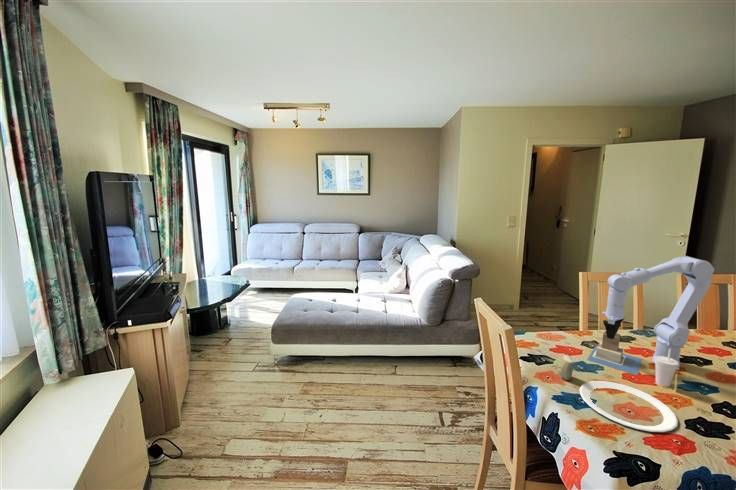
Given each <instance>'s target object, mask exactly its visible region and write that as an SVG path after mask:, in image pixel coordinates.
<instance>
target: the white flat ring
mask: <svg viewBox="0 0 736 490" xmlns="http://www.w3.org/2000/svg"><path fill="white" fill-rule="evenodd" d="M596 388H598V389H611V390H612V389H613V390H618V391H622V392H626V393H628V394H632V395H634V396H637V397H639V398H641V399H643V400H644V401H646V402H648V403H650V404H651V405H652V406H653V407H655V408H656V409H657V410H658V409H659V410H660V411H659V412H660V413H661V415H662V417H663V419H662V420H663V421H662V422H661V423H660V424H657V425H643V424H642V425H641V424H635V423H632V422H629V421H624V420H623V419H619V418H617V417H615V416H613V415H611V414H610V413H608V412H606V411H604V410H603V409H602V408H601V407H599V406H598V405H597V404H596V403H595V402H594V401H593V399H592V398H591V399H592V400H591V399H590V396H591V394H590V392H591V393H592V392H593V391H595V390H597V389H596ZM594 389H595V390H594ZM579 395H580V396H581V399H582V401H584V403H585V404H587V406H588V407H589V408H591V409H592V410H593V411H595V412H596V413H598V414H599V415H601V416H603V417H605V418H606V419H608V420H610V421H612V422H615V423H616V424H619V425H622V426H624V427H626V428H627V427H628V428H630V429H634V430H637V431H643V432H649V433H663V434H664V433H667V432H672V431H674V430H675V429H676V428H678V424H679V419H678V417H677V416H676V414H675V413H674V411H672V410H671V409H670V407H668V405H666V404H664V402H662V401H661V400H659V399H658V398H656V397H654V396H652V395H651V394H648V393H646V392H644V391H642V390H640V389H636V388H635V387H631V386H629V385H625V384H621V383H618V382H612V381H605V380H592V381H587V382H585V383H582V384H581V386H580V387H579ZM589 395H590V396H589ZM592 401H593V402H594V403H595V404H594V403H593V402H592ZM597 406H598V407H597Z"/></svg>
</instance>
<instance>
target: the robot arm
mask: <svg viewBox="0 0 736 490" xmlns="http://www.w3.org/2000/svg"><path fill="white" fill-rule="evenodd" d="M714 271H715V268H714V267H713V265H712V263H710V262H709V261H708V260H703V259H699V258H695V257H692V256H688V255H681V256H679V257H673V259H671V260H669V261H665V262H662V263H661V264H658V265H655V266H653V267H649V268H647V269H645V268H642V267H640V268H639V267H635V268H633V270H630V271H627V272H626V271H625V272H621V273H620V274H617V273H616V274H615V273H614V274H612V275H610V276H609V277H608V279H606V283H607V286H608V295H607V300H606V310H605V311H602V313H601V314H602V315H605V317H606V318H607V320H606V319H603V321H602V323H603V325H604V327H605V331H606V335H607V338H609V339H614V337H615V335H616V333H617V334H618V331H619V328H620V327H621V326H622V322H623V321H624V320H625V308H626V301H627V300H626V299H627V293H628V291H630V289H631V288H632V287H635V286H638V285H642V284H646V283H649V282H650V281H651V279H652V278H654V277H655V278H656V277H658V276H662V275H666V274H672V273H675V272H676V273H681V274H682V275H684V276H685V278H686V280H687V281H688V283H687V285H686V286H685V288H684V290H683V292H682V294H681V296H680V297H679V299H678V300H677V303H676V304H675V306H673V307H674V308H673V309H672V311H671V313H670V314H669V316H668V317H665V318H662V319H661V321H660V322H659V323H657V324H655V326H654V328H653V333H654V334H655V335H656V343H655V350H654V353H653V356H652V360H651V362H652V363H654V364H655V360H654V359H655V356H665V357H668V353H669V349H671V354H670V358H671V359H674V360H676V361H677V362H678V363H679V366H678V367H677V368H676V371H680V364H681V363H680V356H681V349H682V348H683V347H684V346H685V345H686V344H687V343H688V341H689V334H690V330H689V326H688V323H689V321H690V320H691V319H692V317H693V315H694V314H695V312H696V311H697V308H698V306H699V305H700V304H701V301H702V300H703V299H704V297H705V295H706V294H707V291H708V290H709V289H710V287H711V285H712V275H713V273H714Z"/></svg>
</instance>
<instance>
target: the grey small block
mask: <svg viewBox="0 0 736 490" xmlns="http://www.w3.org/2000/svg"><path fill="white" fill-rule="evenodd" d="M574 367H575V362H574V361H573V359H572V357H571V356H570V355H568V354H564V355H562V358H561V359H560V361H559V364H558V367H557V373H558V378H560V379H561V380H563V381H565V382H570V380H571V378H572V375H573V372H574Z"/></svg>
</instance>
